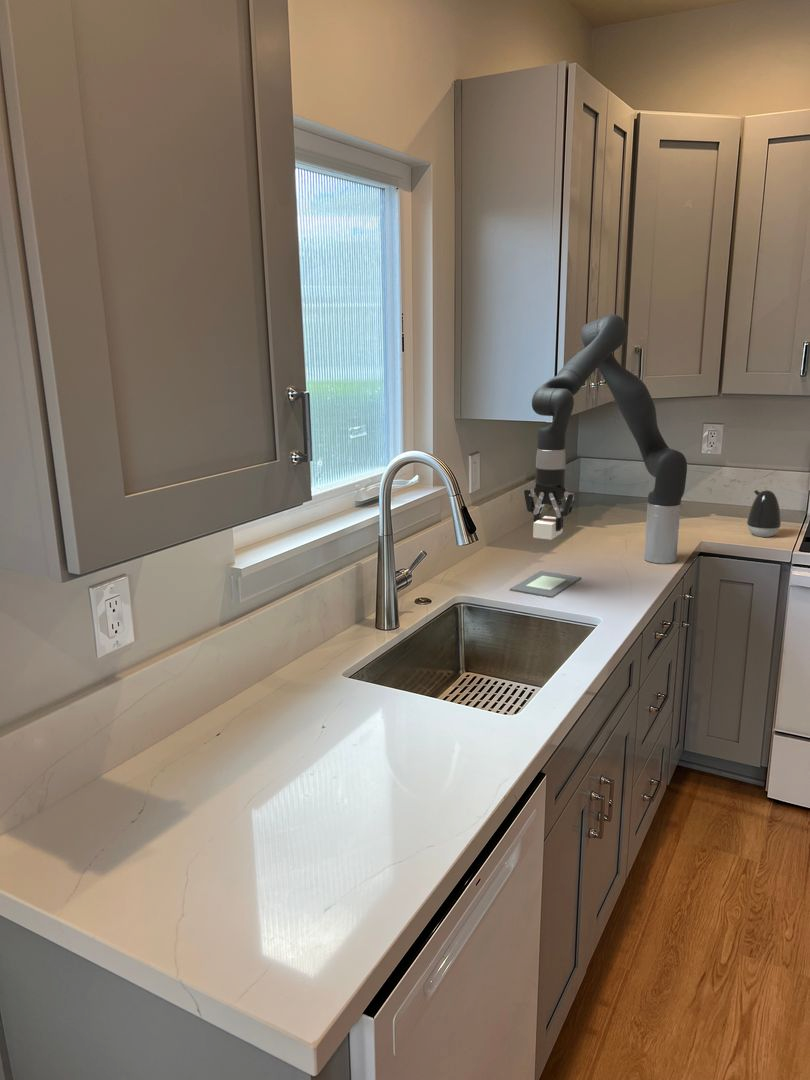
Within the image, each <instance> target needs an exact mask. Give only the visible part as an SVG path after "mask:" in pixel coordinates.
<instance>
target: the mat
mask: <svg viewBox="0 0 810 1080" xmlns="http://www.w3.org/2000/svg"><path fill="white" fill-rule="evenodd" d="M581 579H582V577H581V576H577V575H571V574H566V573H560V572H552V571H545V570H540V571H538V572H536V573H535V574H533V575H531V576H530V577H528V578H525V579H524V580H523V581H521V582H519V583H518V584H515V585H514V586H512V587H510V588H509V591H510V592H511V591H512V592H516V591H517V593H522V592H523V594H529V595H534V596H539V595H541V596H540V597H544V596H546V598H550V597H553V596H554V597H555V595H556V594H557V595H558V593H559V594H560V593H561V591H562V592H563V591H565V590H566V589H568V588H569V587H571V586H572V585H573V584H575V583H576V582H578V581H580V580H581ZM564 589H565V590H564ZM557 595H556V596H557ZM554 597H553V598H554Z"/></svg>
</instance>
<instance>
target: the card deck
mask: <svg viewBox="0 0 810 1080" xmlns="http://www.w3.org/2000/svg"><path fill="white" fill-rule="evenodd" d="M556 517H557V516H550V515H549V516H548V515H545V516H543V517H541V519H539V520H538V521H536V522H534V521H533V527H532V533H533V534H532V537H533V538H534V539H541V540H551V541H552V540H553V539H555V538H556V537H559V536H560V535H561V534H562V533H563V528H564V527H563V528H562V529H561V530H560V531H556Z"/></svg>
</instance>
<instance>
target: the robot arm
mask: <svg viewBox="0 0 810 1080" xmlns="http://www.w3.org/2000/svg"><path fill="white" fill-rule="evenodd" d="M627 336H628V327H627V324H626V322H625V320H624V319H623V318H622V317H621V316H620V315H618V314H614V313H613V314H608V315H605V316H602V317H599V318H597V319H594V320H592V321H590V322H588V323H585V324H583V326H582V329H581V340H582V343H583V346H584V348H583V349H582V350H580V351H579V352H577V353H576V354H575V355H573V356H572V357H571V358H570V359H569V360H568V361H567V362H566V363H565V364H564V365H563V367H562V368H561V369H560V370H559V371H558V373H557V375H555V376H553V377H551V378H550V379H548V380H547V381H546V382H545V383H543V384H541V386H539V387H538V388H537V390H535V392H534V394H533V395H532V398H531V407H532V410H533V412H535V414H537V415H539V416H544V417H546V416H547V417H553V420H552V422H551V424H545V425H542V426H540V427H539V428H538V431H537V451H536V455H535V456H536V457H535V479H534V482H535V485H534V488H527V489H525V490H524V491H523V493H524V500H525V505H526V510H527V512H528V513H532V514H533V523H534V522H536V521H538V520H539V519H541V518H542V511H543V508H544V506H545V505H549V506H552V507H553V510H554V511H555V515H556V516H555V517H556V531H560V530H561V529H562V528H564V518H565V517H567V516H569V515H571V513H572V510H573V506H574V504H575V499H576V497H577V495H576V493H575V492H572V493H571V492H568V491H566V489H565V480H566V476H565V475H566V466H567V465H566V463H567V461H566V434H567V428H568V426H569V423H570V418H571V416H572V414H573V409H574V405H575V400H574V399H575V398H574V396H575V395H576V394H577V393H578V392H579V391H580V389H582V387H583V386H584V384H585V383H586V382H587V380H588V379H589V378H590V377H591V376H592V374H593V373H594V372H595V370H597V369H598V371H599V373H600V374H601V376H602V377H603V380H604V381H605V384H606V385H607V387H608V389H609V391H610V392H611V395H612V396H613V398H614V401H615V404H616V405H617V408H618V409H619V412H620V414H621V416H622V417H623V419H624V421H625V422H626V424H627V427H628V429H629V431H630V432H631V434H632V436H633V438H634V439H635V442H636V444H637V446H638V448H639V451H640V455H641V457H642V461H643V462H644V466H645V468H646V470H647V472H648V473H649V474H650V475H651V476H652V477H654V478H655V481H654V487H653V490H652V491H650V492H649V493H648V495H647V507H646V509H647V510H646V521H645V522H646V524H645V539H644V555H643V559H644V561H647V562H649V563H654V564H664V565H665V564H673V563H675V562H677V556H678V554H677V553H678V547H679V546H678V542H679V529H680V518H681V517H680V515H681V503H682V498H683V496H684V493H685V489H686V482H687V472H688V461H687V458H686V457H685V455H684V454H683V453H682V452H681V451H679V450H677V449H673V448H670V447H669V445H668V444H667V443H666V441H665V440H664V437H663V435H662V433H661V431H660V429H659V426H658V420H657V410H656V405H655V402H654V400H653V398H652V396H651V394H650V391H649V390H648V388H647V385H646V384H645V383H644V382H643V380H642V379H640V377H638V376H636V375H635V374H634V373H633V372H631V371H630V370H628V369H627V368H625V366H623V365H622V364H621V363H620V362H619V361H618V360H617V359H616V357H615V355H614V352H615V351H616V350H618V349H619V348H620V347H621V346H622V345H623V344H624V343H625V342H626V340H627ZM534 496H536V498H537V499H536V503H535V501H534ZM563 498H564V500H565V501H566V502H565V505H564V504H563V501H562V499H563Z"/></svg>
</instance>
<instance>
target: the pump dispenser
mask: <svg viewBox="0 0 810 1080" xmlns="http://www.w3.org/2000/svg"><path fill="white" fill-rule="evenodd" d="M754 494H755V495H756V497H755V498H754V500H753V502H752V504H751V507H750V510H749V511H748V512H749V513H748V516H747V521H746V525H747V527H748V530H749V532H750V534H752V535H753V536H755V537H759V538H769V537H773V536H774V535H776V534H777V533H778V531H779V529H780V527H781V526H782V525H781V524H782V519H781V517H782V516H781V509H780V504H779V501H778V498H777V496H776V494H775V493H774V492H773V491H771V490H767V489H766V490H765V489H764V490H762V491H761V492H760V491H758V490H757V489H756V490H754Z"/></svg>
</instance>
